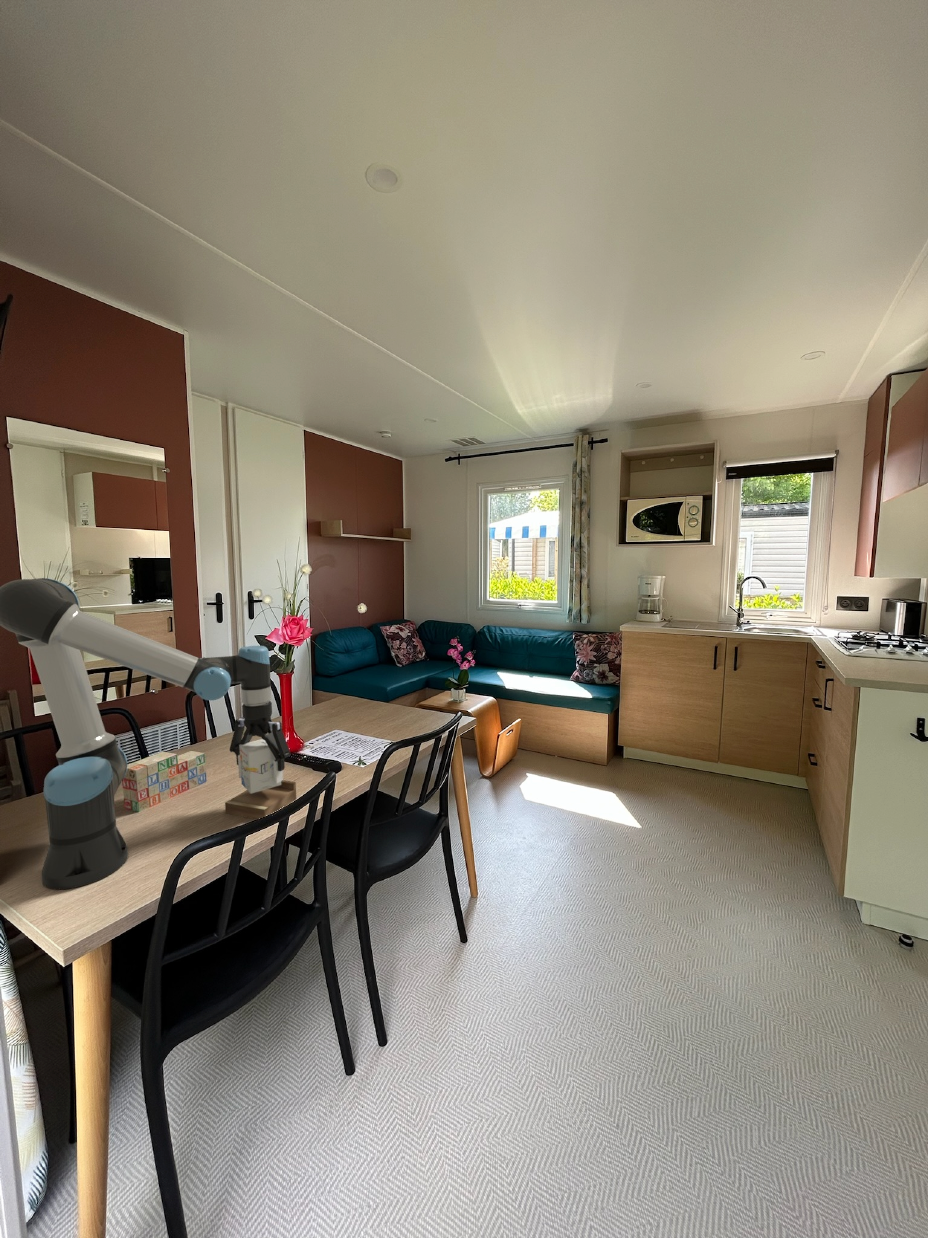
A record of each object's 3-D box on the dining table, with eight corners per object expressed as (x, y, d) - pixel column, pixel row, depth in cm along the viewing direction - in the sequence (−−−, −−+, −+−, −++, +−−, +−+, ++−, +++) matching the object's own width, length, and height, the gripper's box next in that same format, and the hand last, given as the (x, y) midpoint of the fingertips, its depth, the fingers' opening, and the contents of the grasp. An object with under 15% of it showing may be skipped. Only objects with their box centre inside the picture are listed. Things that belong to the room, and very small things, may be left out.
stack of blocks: (193, 778, 155) (190, 741, 154) (207, 781, 153) (204, 743, 151) (123, 808, 136) (120, 766, 134) (138, 813, 133) (135, 769, 132)
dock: (264, 820, 128) (264, 802, 128) (225, 813, 132) (224, 795, 132) (296, 798, 141) (295, 782, 140) (259, 792, 145) (258, 776, 144)
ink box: (240, 784, 136) (238, 743, 135) (271, 775, 142) (269, 736, 141) (250, 794, 130) (247, 752, 129) (282, 785, 135) (279, 744, 134)
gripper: (301, 702, 133) (305, 778, 136) (232, 695, 141) (237, 768, 143) (283, 709, 126) (287, 790, 129) (212, 702, 134) (217, 779, 136)
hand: (261, 779), depth 136 cm, fingers closed on ink box, 11 cm apart
